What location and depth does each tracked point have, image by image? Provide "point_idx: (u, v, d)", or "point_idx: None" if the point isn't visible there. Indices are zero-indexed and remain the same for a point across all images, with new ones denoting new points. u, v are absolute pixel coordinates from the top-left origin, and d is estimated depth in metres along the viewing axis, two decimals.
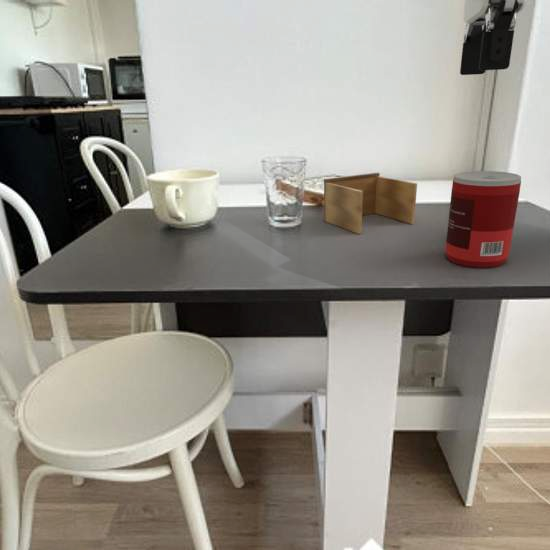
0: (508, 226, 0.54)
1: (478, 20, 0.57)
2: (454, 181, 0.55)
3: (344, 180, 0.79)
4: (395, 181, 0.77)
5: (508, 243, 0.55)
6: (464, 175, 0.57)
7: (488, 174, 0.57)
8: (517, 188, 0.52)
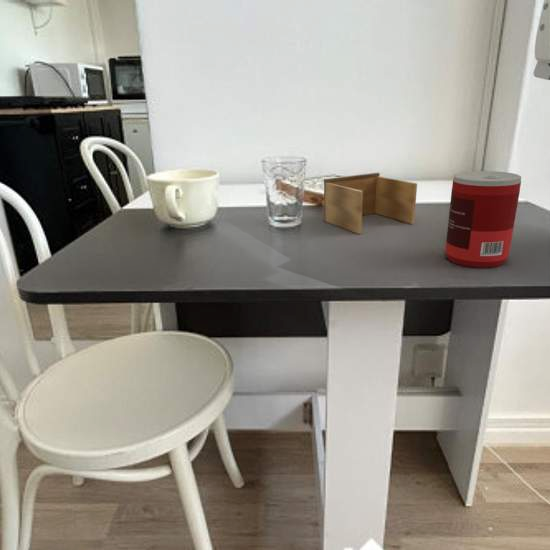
0: (508, 226, 0.54)
1: None
2: (454, 181, 0.55)
3: (344, 180, 0.79)
4: (395, 181, 0.77)
5: (508, 243, 0.55)
6: (464, 175, 0.57)
7: (488, 174, 0.57)
8: (517, 188, 0.52)
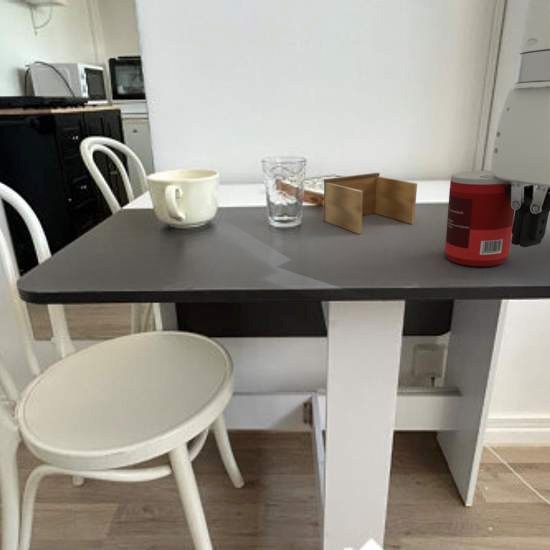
0: (507, 224, 0.54)
1: None
2: (452, 181, 0.55)
3: (344, 180, 0.79)
4: (395, 181, 0.77)
5: (507, 241, 0.55)
6: (461, 175, 0.57)
7: (485, 173, 0.57)
8: None
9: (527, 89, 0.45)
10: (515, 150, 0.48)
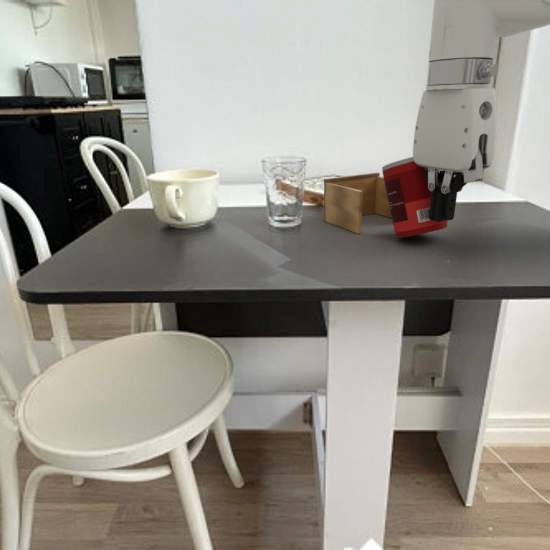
0: None
1: None
2: (382, 171, 0.66)
3: (344, 180, 0.79)
4: None
5: None
6: None
7: None
8: None
9: (434, 91, 0.56)
10: (428, 141, 0.58)
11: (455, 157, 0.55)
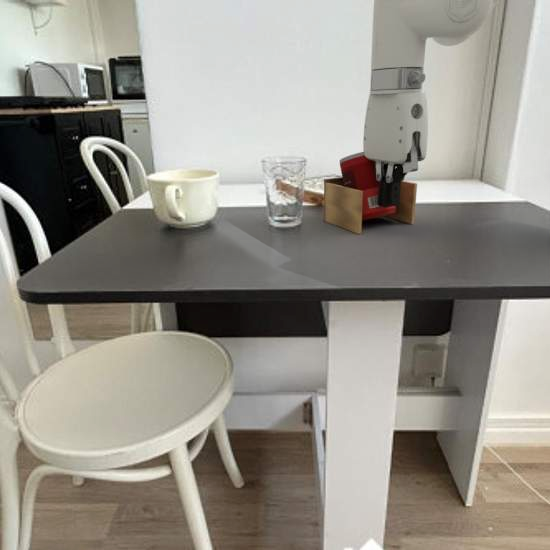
0: None
1: None
2: None
3: None
4: None
5: None
6: None
7: None
8: None
9: (376, 95, 0.65)
10: (374, 137, 0.68)
11: (394, 151, 0.65)
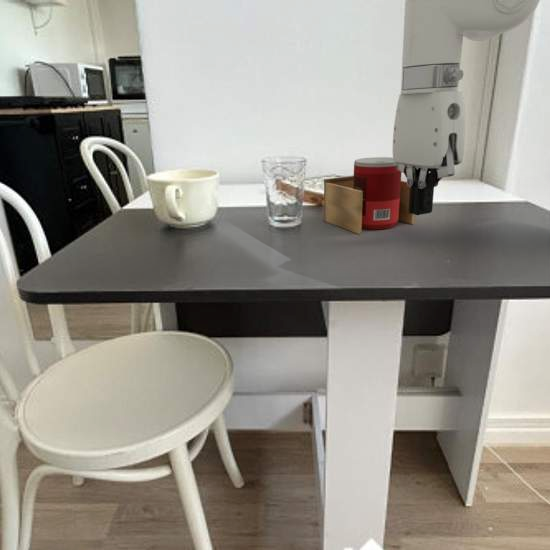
0: (393, 197, 0.72)
1: None
2: (354, 164, 0.73)
3: (344, 180, 0.79)
4: None
5: (395, 210, 0.73)
6: (363, 160, 0.75)
7: (382, 159, 0.75)
8: None
9: (408, 94, 0.61)
10: (405, 140, 0.63)
11: (428, 155, 0.60)
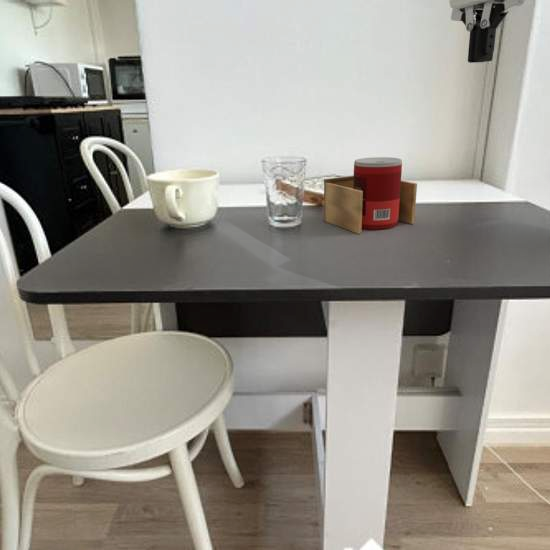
0: (393, 197, 0.72)
1: None
2: (354, 164, 0.73)
3: (344, 180, 0.79)
4: None
5: (395, 210, 0.73)
6: (363, 160, 0.75)
7: (382, 159, 0.75)
8: (397, 169, 0.71)
9: None
10: None
11: None
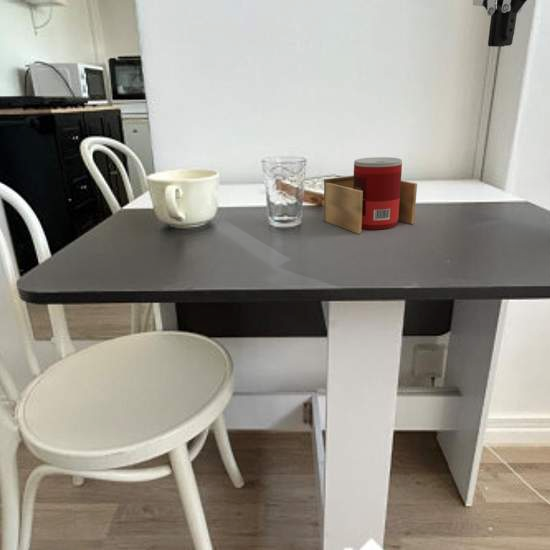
0: (393, 197, 0.72)
1: None
2: (354, 164, 0.73)
3: (344, 180, 0.79)
4: None
5: (395, 210, 0.73)
6: (363, 160, 0.75)
7: (382, 159, 0.75)
8: (397, 169, 0.71)
9: None
10: None
11: None
